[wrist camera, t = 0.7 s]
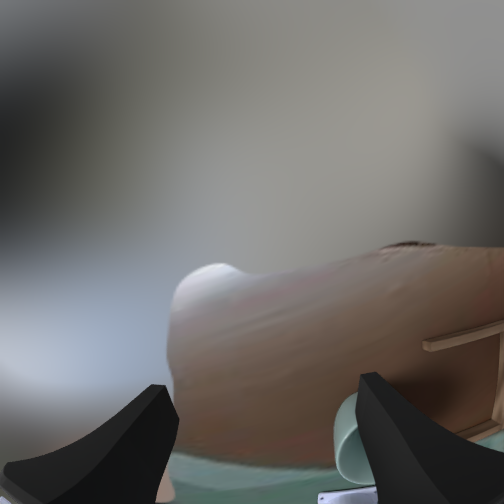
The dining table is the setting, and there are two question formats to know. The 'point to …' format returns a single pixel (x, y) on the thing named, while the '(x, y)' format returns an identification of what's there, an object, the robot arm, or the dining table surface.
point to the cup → (350, 445)
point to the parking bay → (500, 417)
